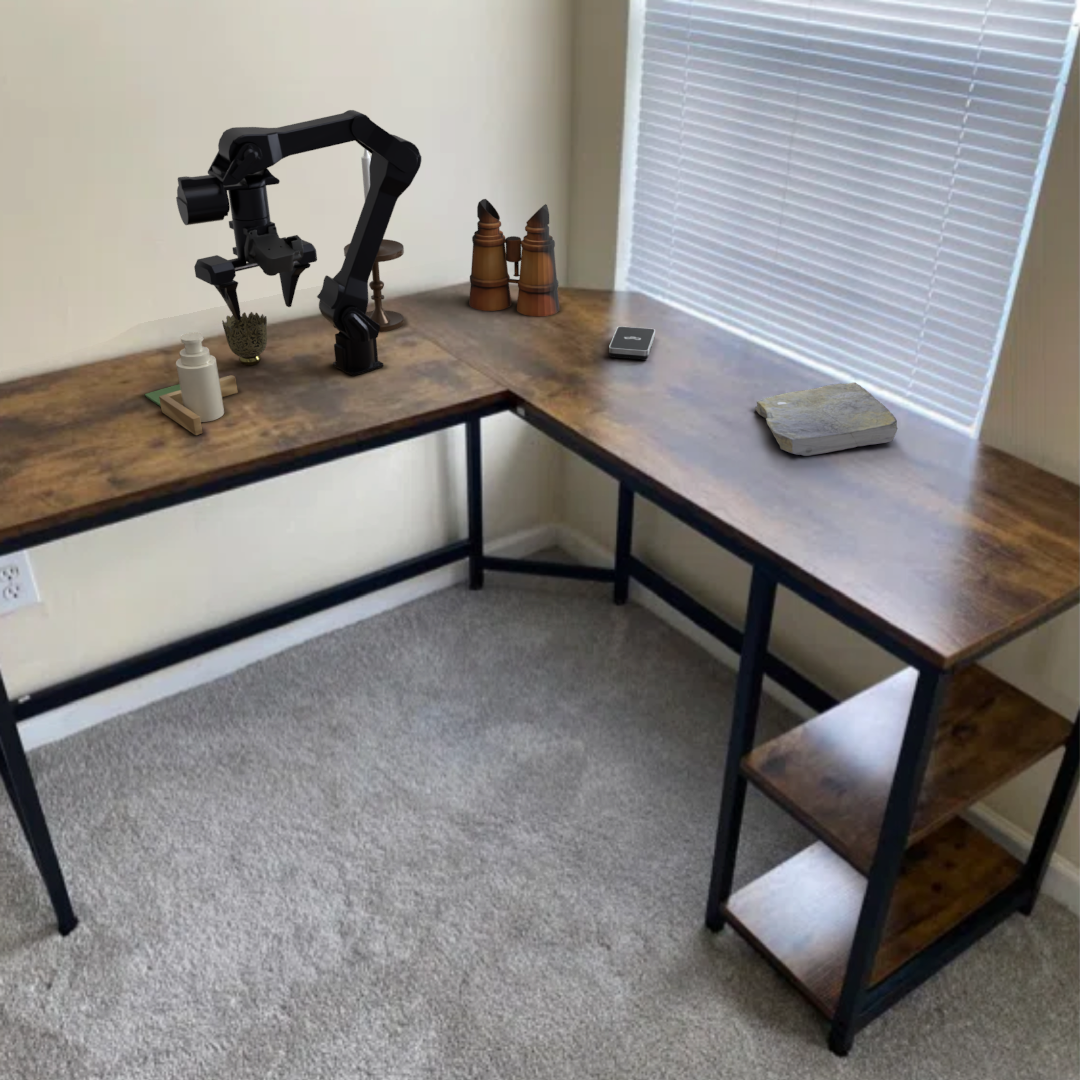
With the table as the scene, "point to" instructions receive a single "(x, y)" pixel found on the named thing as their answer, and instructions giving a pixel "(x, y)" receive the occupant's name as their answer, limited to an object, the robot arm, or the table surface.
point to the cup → (247, 337)
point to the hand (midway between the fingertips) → (263, 313)
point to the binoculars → (534, 271)
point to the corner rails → (184, 416)
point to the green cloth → (161, 393)
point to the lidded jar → (199, 379)
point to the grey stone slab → (827, 419)
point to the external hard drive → (632, 342)
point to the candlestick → (385, 253)
